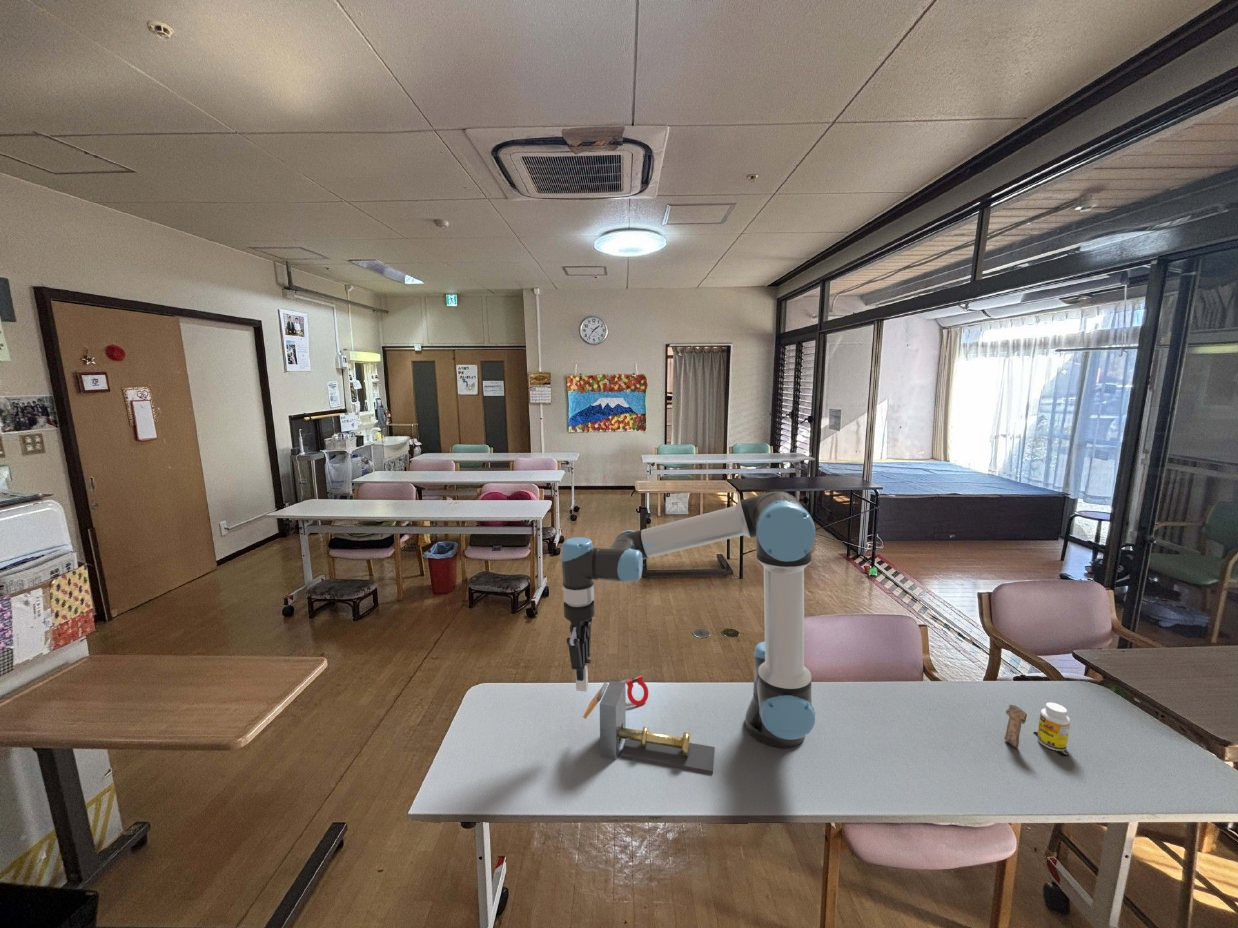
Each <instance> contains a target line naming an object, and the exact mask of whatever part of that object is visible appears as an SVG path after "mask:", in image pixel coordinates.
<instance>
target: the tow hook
mask: <svg viewBox="0 0 1238 928" xmlns="http://www.w3.org/2000/svg"><path fill="white" fill-rule="evenodd" d="M643 679H644V677H643V675H637V676H634V677H631V678H627V679H623V680H620V681H619V682H623V683H625V685H626V687H627V693H626V694H627V695H626V696H627V698H628V700H629V702H630V703H631V704H633V705H635V706H642V705H644V704H645V703H646V702H647V700H648V697H649V689H648V686H647V684H646V683H645V681H643ZM634 683H637V684H638V685H640V686H641V687H642V690H643V696H642V698H641V699H640V700H637V699H636V698H634V696H633V694H632V693H633V692H632V691H633V688H634Z"/></svg>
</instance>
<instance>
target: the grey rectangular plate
mask: <svg viewBox="0 0 1238 928" xmlns="http://www.w3.org/2000/svg"><path fill="white" fill-rule="evenodd" d="M626 694H627V693H626V683H623V682H620V681H614V680H609V683H608V685H607V687H606V689H605V691H604V694H603V696H602V698H601V700H600V701H599V702H600V703H599V745H600V746H599V747H600V748H599V749H600V751H599V753H600V755H599V757H600V758H604V759H610V760H617V759H618V755H619V753H620V751H621V750H620V749H621V748H622V747H621V746H622V744H623V740H624V739H622V738H619V730H620V728H621V727H622V728H627V725H626V724H627V723H626V721H627V719H626V714H627V713H626V696H627V695H626Z"/></svg>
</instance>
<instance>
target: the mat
mask: <svg viewBox="0 0 1238 928" xmlns="http://www.w3.org/2000/svg"><path fill="white" fill-rule="evenodd" d="M715 749H716V747H715V746H711V745H705V744H700V743H693V742H690V749H689V756H685V755H682V749H681V748H675V747H669V746H663V745H657V744H651V743H647V747H642V746H641V742H640V741H634V740H628V739H625V742H624V745H623V748H622V751H621V754H620V758H622V759H627V760H633V761H638V762H639V761H640V762H644V763H650V764H655V765H660V766H661V765H662V766H667V767H673V768H677V769H684V770H689V771H694V772H700V773H706V774H710V775H713V773H714V764H715V763H714V762H715V752H716V751H715Z"/></svg>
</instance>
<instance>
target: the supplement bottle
mask: <svg viewBox="0 0 1238 928" xmlns="http://www.w3.org/2000/svg"><path fill="white" fill-rule="evenodd" d="M1070 727H1071V719H1070V717H1069V716H1068V710H1067V708H1066V707H1064V706H1063V705H1061V704H1058V703H1055V702H1046V703H1045V707H1044V708H1042V709H1041V710H1040V714H1039V720H1038V729H1037V732H1038V735H1036V739H1037V740H1038V743H1040V744H1041V745H1043V747H1046V748H1047V749H1050V750H1052V751H1055V750H1056V751H1065V750H1067V746H1068V739H1069V733H1070ZM1056 751H1055V752H1056Z"/></svg>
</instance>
